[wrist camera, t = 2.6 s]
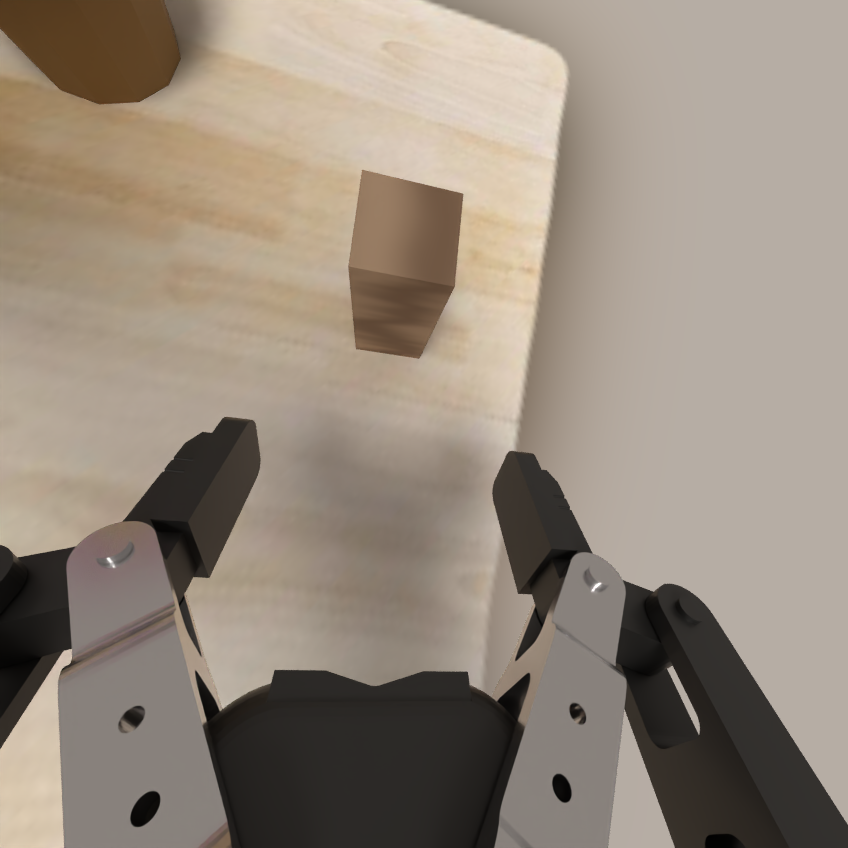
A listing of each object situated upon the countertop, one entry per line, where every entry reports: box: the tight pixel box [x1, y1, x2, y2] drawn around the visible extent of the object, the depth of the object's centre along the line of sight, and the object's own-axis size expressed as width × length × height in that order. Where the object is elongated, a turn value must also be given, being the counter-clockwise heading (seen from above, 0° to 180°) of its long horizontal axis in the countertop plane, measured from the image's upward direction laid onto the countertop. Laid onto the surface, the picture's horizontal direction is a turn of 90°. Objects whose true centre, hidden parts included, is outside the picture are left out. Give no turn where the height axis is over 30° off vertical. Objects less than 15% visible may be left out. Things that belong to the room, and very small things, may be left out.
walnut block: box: [348, 170, 463, 358], centre depth 21 cm, size 5×5×11 cm
